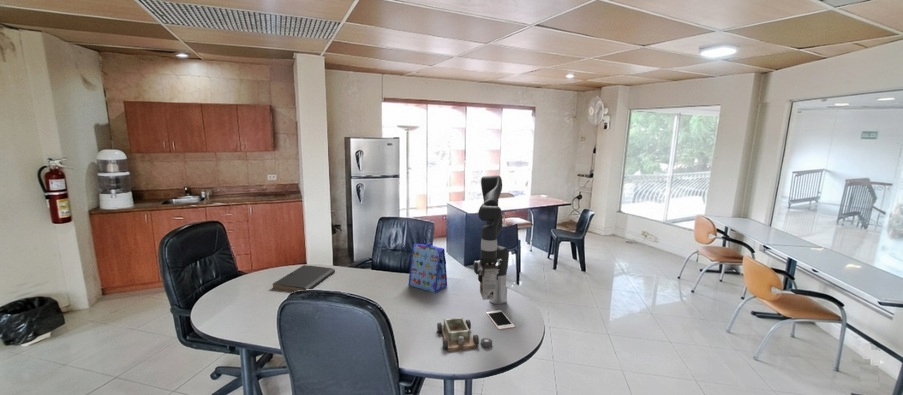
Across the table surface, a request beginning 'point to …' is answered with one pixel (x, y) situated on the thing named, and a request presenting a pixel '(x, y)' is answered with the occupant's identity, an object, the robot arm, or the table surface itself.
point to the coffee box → (488, 282)
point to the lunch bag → (428, 268)
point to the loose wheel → (486, 342)
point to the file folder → (303, 278)
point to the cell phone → (500, 320)
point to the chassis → (457, 334)
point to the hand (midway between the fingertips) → (487, 281)
